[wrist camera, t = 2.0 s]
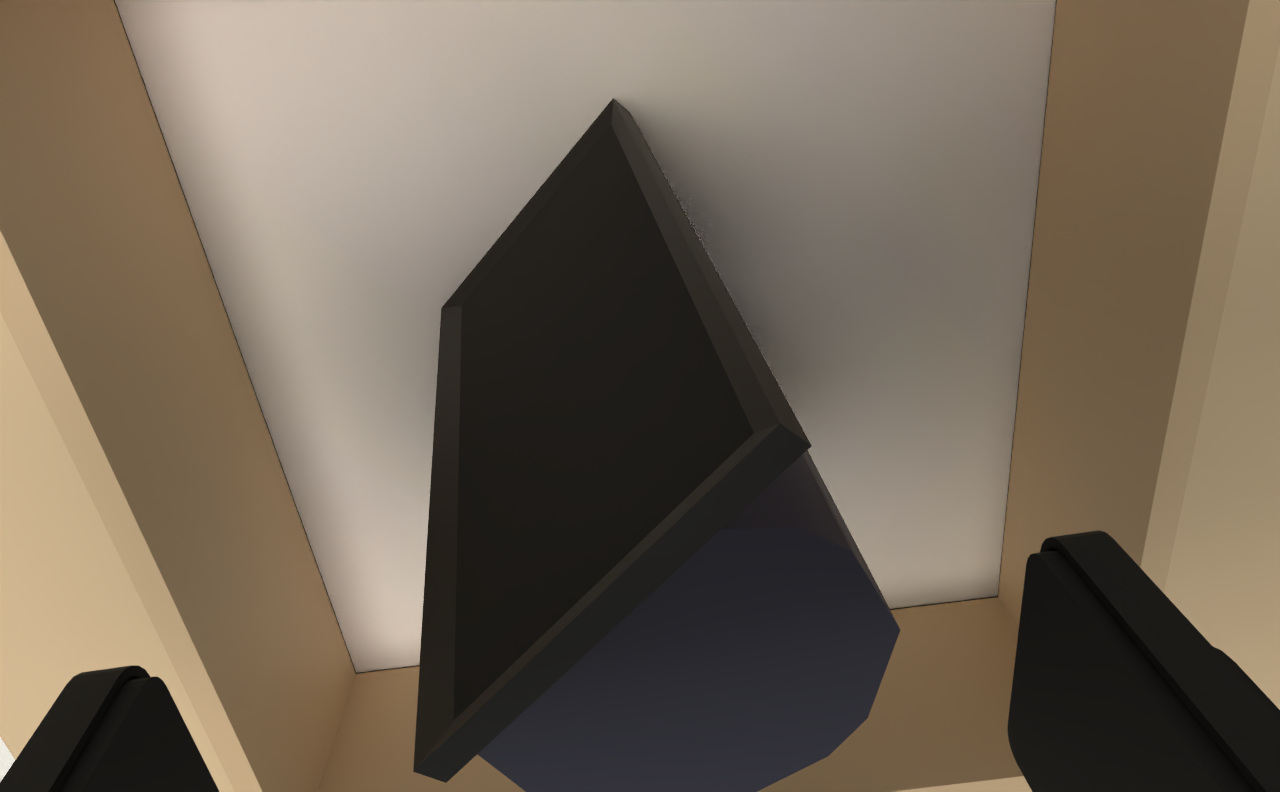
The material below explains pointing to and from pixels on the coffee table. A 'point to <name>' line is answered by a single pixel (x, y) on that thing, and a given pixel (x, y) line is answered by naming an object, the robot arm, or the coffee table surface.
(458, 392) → the speaker
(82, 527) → the carton
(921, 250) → the coffee table surface
